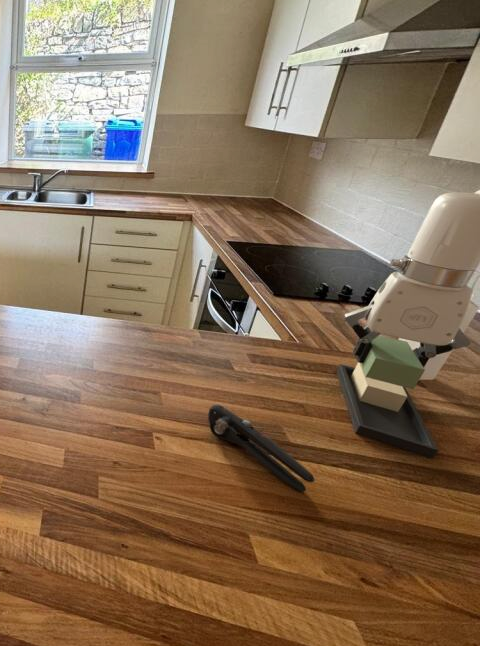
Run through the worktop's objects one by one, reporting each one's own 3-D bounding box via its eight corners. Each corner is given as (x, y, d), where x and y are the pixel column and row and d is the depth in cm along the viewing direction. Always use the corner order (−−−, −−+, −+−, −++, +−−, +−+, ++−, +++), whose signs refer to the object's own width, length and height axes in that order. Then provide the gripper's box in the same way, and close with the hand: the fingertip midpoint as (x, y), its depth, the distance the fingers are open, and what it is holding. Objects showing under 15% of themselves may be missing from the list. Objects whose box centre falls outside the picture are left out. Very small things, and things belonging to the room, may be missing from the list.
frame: (397, 387, 89) (401, 380, 88) (432, 458, 71) (438, 450, 71) (336, 370, 94) (339, 363, 94) (355, 433, 77) (359, 425, 76)
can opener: (194, 425, 78) (202, 403, 75) (219, 416, 80) (227, 393, 78) (291, 502, 63) (305, 477, 61) (318, 487, 66) (331, 463, 63)
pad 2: (386, 385, 89) (394, 371, 87) (398, 412, 81) (407, 396, 80) (350, 376, 92) (358, 361, 90) (359, 400, 84) (367, 385, 83)
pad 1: (396, 359, 74) (407, 341, 72) (413, 389, 66) (425, 369, 65) (354, 349, 77) (363, 332, 75) (365, 377, 69) (375, 357, 68)
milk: (406, 364, 97) (455, 282, 88) (434, 380, 92) (489, 294, 83) (383, 364, 97) (430, 282, 88) (409, 380, 92) (462, 294, 82)
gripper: (367, 268, 65) (324, 360, 73) (529, 294, 57) (461, 394, 64) (358, 255, 71) (319, 341, 79) (503, 276, 62) (444, 370, 70)
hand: (383, 364), depth 71 cm, fingers closed on pad 1, 6 cm apart
